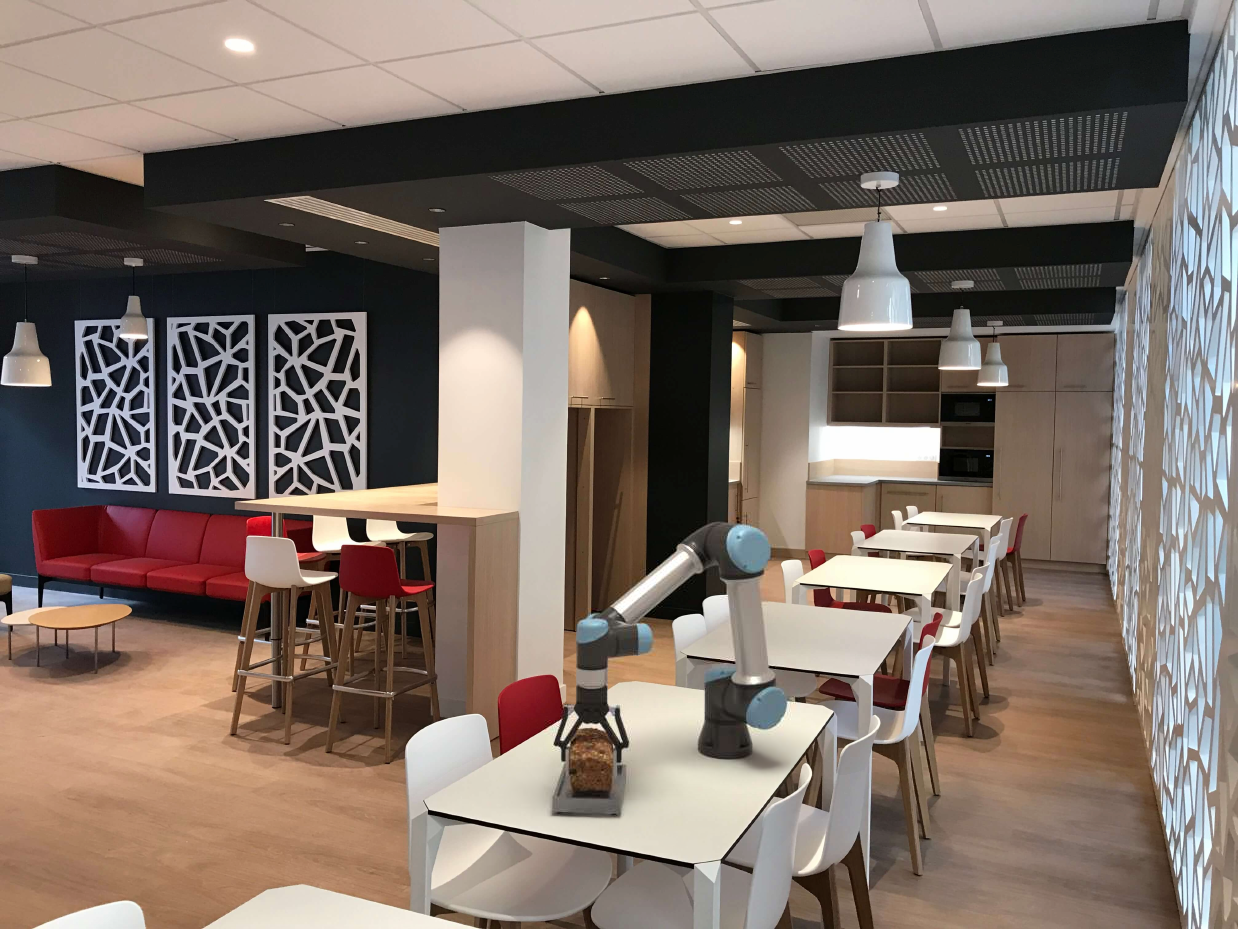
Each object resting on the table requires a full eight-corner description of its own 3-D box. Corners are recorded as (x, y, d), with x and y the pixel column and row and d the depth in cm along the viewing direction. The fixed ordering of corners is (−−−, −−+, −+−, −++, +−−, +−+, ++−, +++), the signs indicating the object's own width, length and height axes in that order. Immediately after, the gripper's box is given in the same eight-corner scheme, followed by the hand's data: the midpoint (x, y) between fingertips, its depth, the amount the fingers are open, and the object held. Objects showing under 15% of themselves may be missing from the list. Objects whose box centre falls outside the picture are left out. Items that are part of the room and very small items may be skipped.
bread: (570, 764, 240) (571, 725, 240) (613, 764, 240) (613, 725, 240) (567, 792, 221) (567, 749, 221) (613, 792, 221) (614, 749, 221)
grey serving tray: (625, 781, 242) (626, 764, 242) (620, 818, 219) (620, 799, 218) (564, 779, 243) (564, 762, 243) (552, 815, 219) (552, 797, 219)
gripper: (640, 681, 233) (640, 771, 234) (545, 679, 234) (545, 768, 235) (639, 689, 226) (638, 782, 226) (541, 687, 227) (541, 779, 228)
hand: (591, 775), depth 231 cm, fingers closed on bread, 11 cm apart
